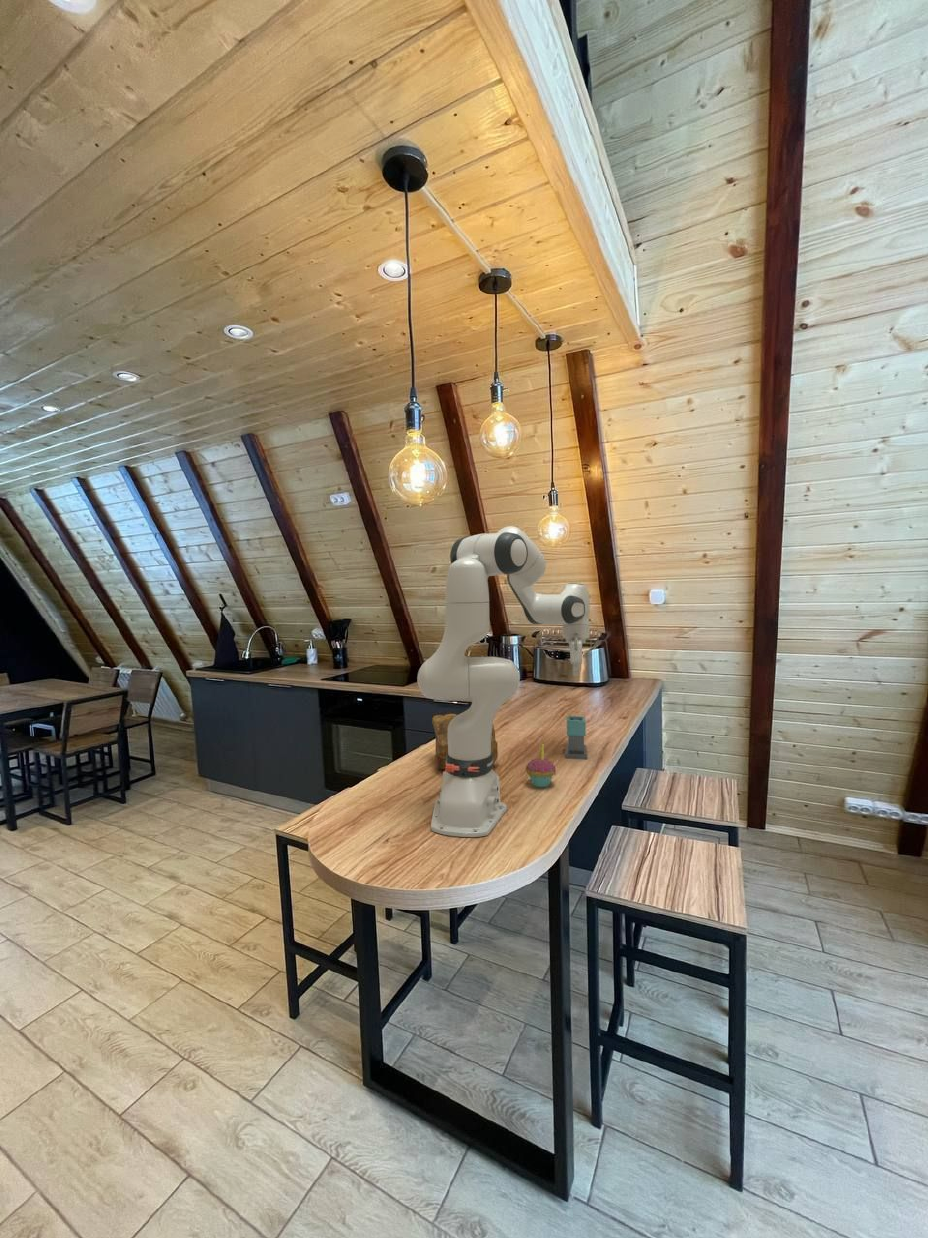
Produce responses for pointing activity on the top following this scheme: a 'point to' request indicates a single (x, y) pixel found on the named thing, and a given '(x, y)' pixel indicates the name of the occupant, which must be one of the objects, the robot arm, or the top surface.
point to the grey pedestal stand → (576, 747)
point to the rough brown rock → (442, 739)
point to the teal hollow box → (576, 726)
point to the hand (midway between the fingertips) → (575, 673)
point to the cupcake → (541, 771)
